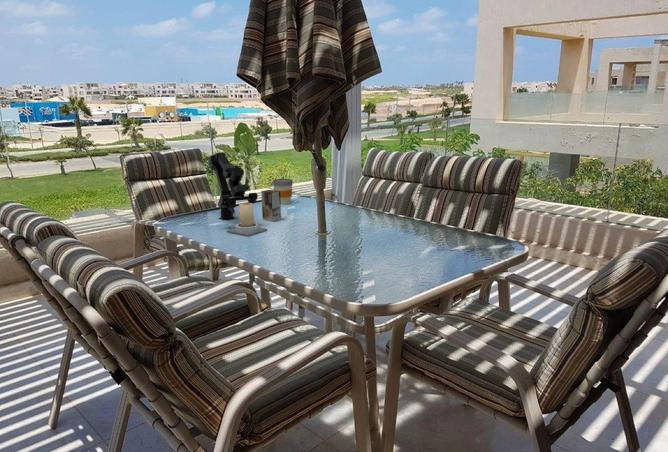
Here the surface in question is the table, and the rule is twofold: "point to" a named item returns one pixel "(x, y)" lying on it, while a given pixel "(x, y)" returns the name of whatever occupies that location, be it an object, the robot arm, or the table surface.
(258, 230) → the ring holder
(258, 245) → the table surface
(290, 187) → the reusable coffee cup
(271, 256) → the table surface
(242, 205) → the kraft roll
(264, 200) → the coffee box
